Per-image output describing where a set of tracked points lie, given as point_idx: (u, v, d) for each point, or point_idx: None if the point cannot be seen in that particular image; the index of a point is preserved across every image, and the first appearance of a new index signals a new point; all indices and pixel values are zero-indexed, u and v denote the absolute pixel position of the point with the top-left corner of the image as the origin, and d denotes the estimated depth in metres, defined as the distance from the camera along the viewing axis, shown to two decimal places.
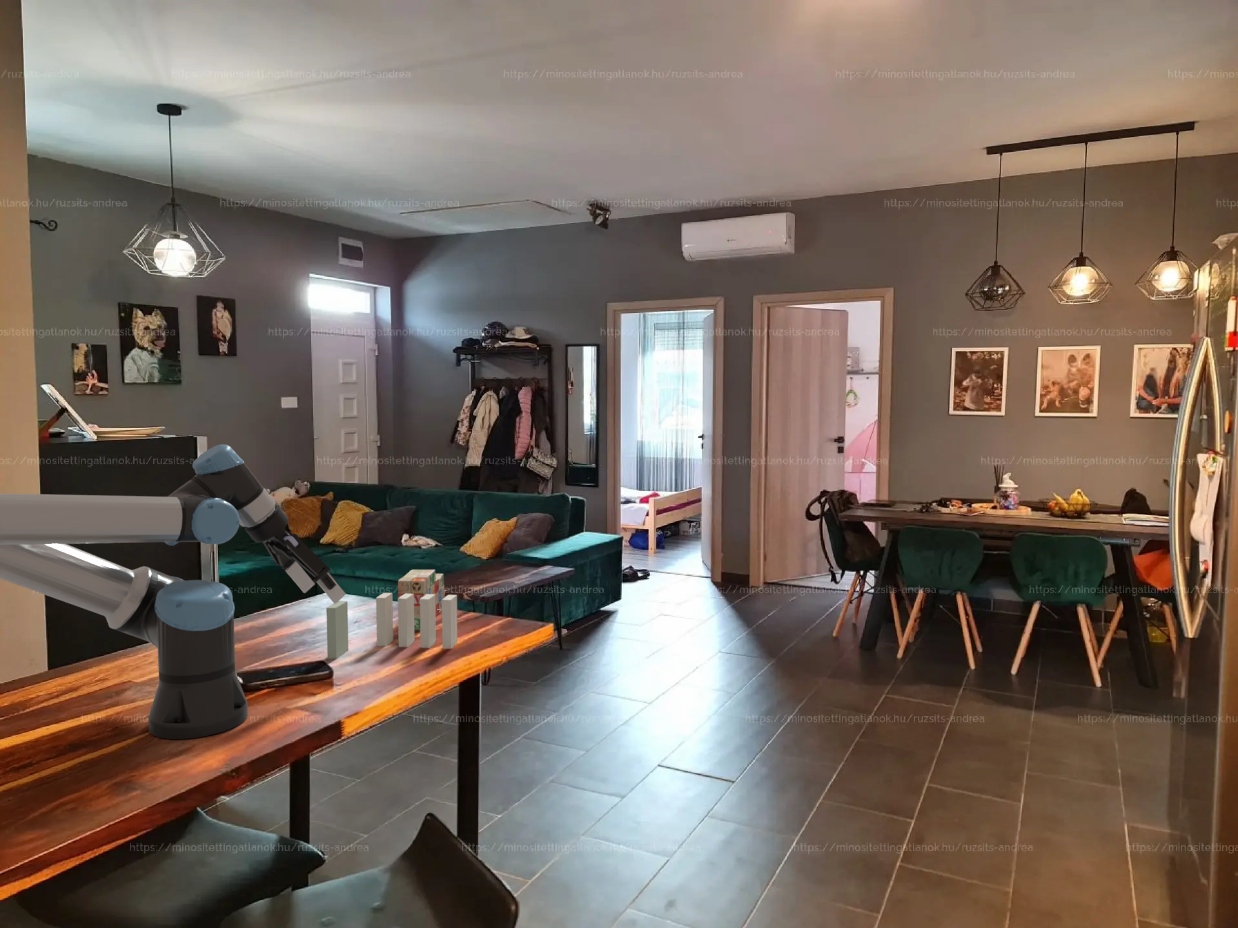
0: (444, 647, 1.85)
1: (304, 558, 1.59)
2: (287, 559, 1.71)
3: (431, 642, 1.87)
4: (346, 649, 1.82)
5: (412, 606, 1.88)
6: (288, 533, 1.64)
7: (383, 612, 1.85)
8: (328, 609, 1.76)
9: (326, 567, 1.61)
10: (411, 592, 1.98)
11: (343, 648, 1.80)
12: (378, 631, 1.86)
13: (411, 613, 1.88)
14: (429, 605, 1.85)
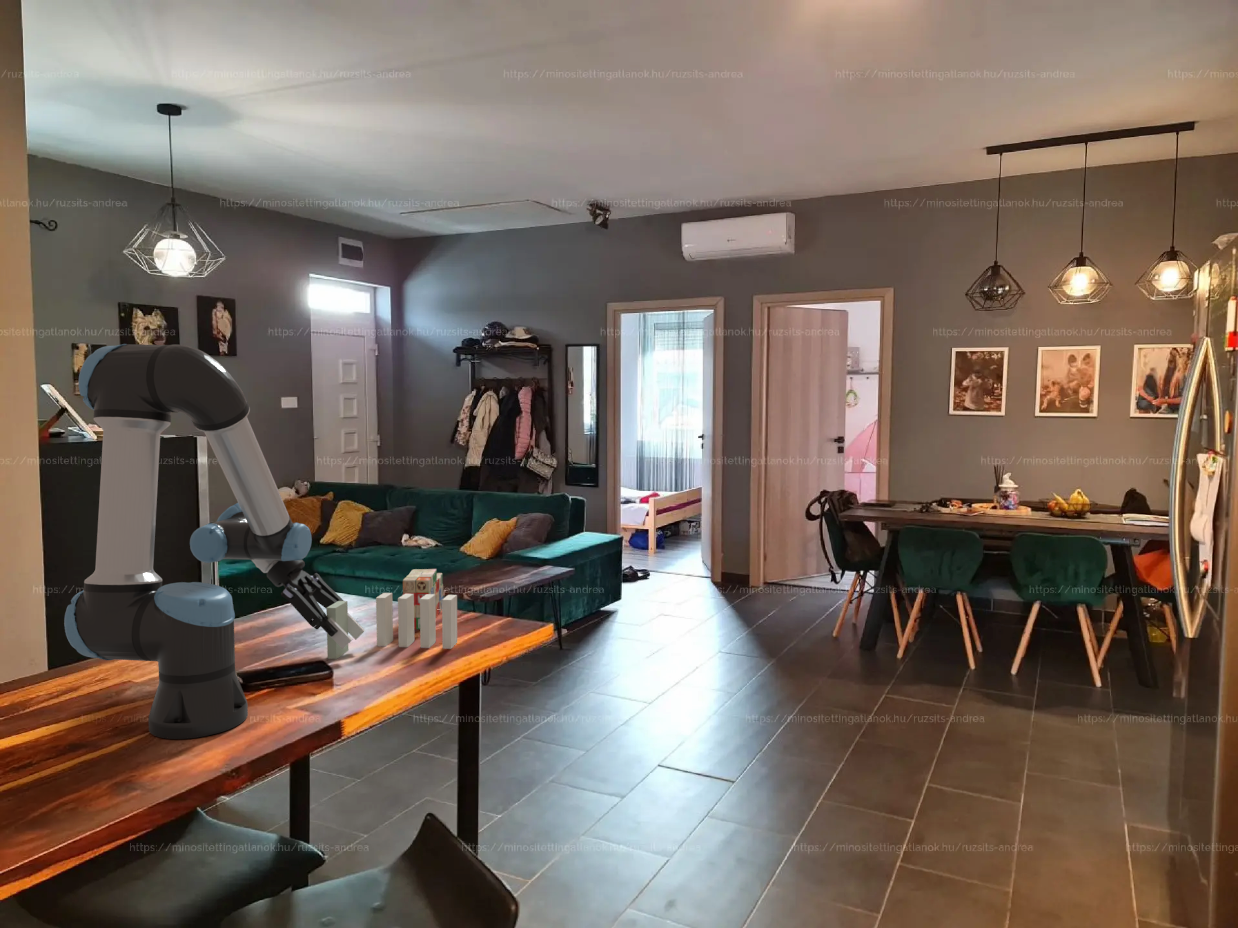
0: (444, 647, 1.85)
1: None
2: None
3: (431, 642, 1.87)
4: (346, 649, 1.82)
5: (412, 606, 1.88)
6: None
7: (383, 612, 1.85)
8: (328, 609, 1.76)
9: None
10: (416, 591, 1.99)
11: (343, 648, 1.80)
12: (378, 631, 1.86)
13: (411, 613, 1.88)
14: (429, 605, 1.85)
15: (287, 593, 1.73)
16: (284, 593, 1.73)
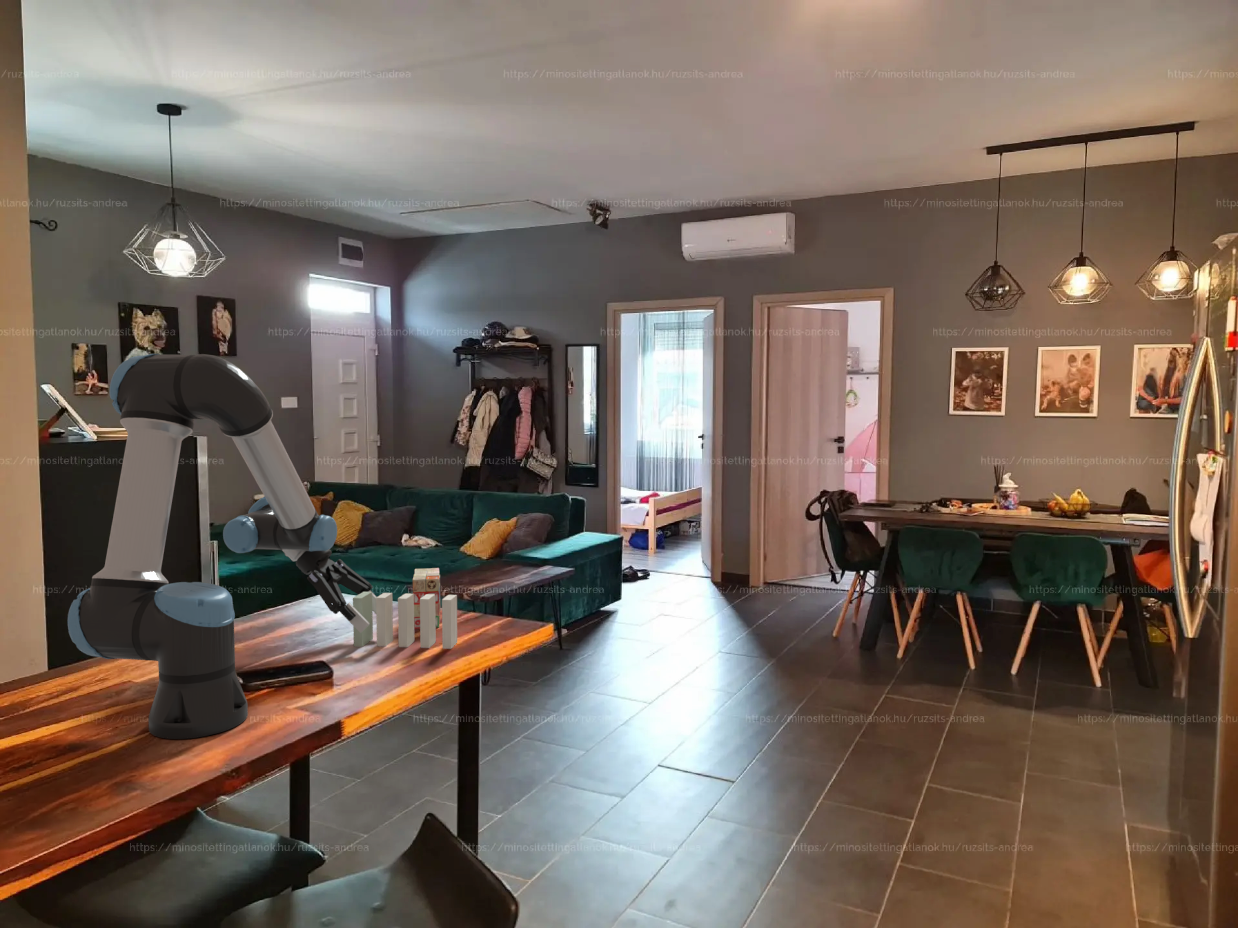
0: (444, 647, 1.85)
1: None
2: None
3: (431, 642, 1.87)
4: (371, 637, 1.91)
5: (412, 606, 1.88)
6: None
7: (383, 612, 1.85)
8: (354, 599, 1.85)
9: None
10: (426, 590, 2.00)
11: (368, 637, 1.89)
12: (378, 631, 1.86)
13: (411, 613, 1.88)
14: (429, 605, 1.85)
15: (312, 577, 1.82)
16: (310, 577, 1.82)
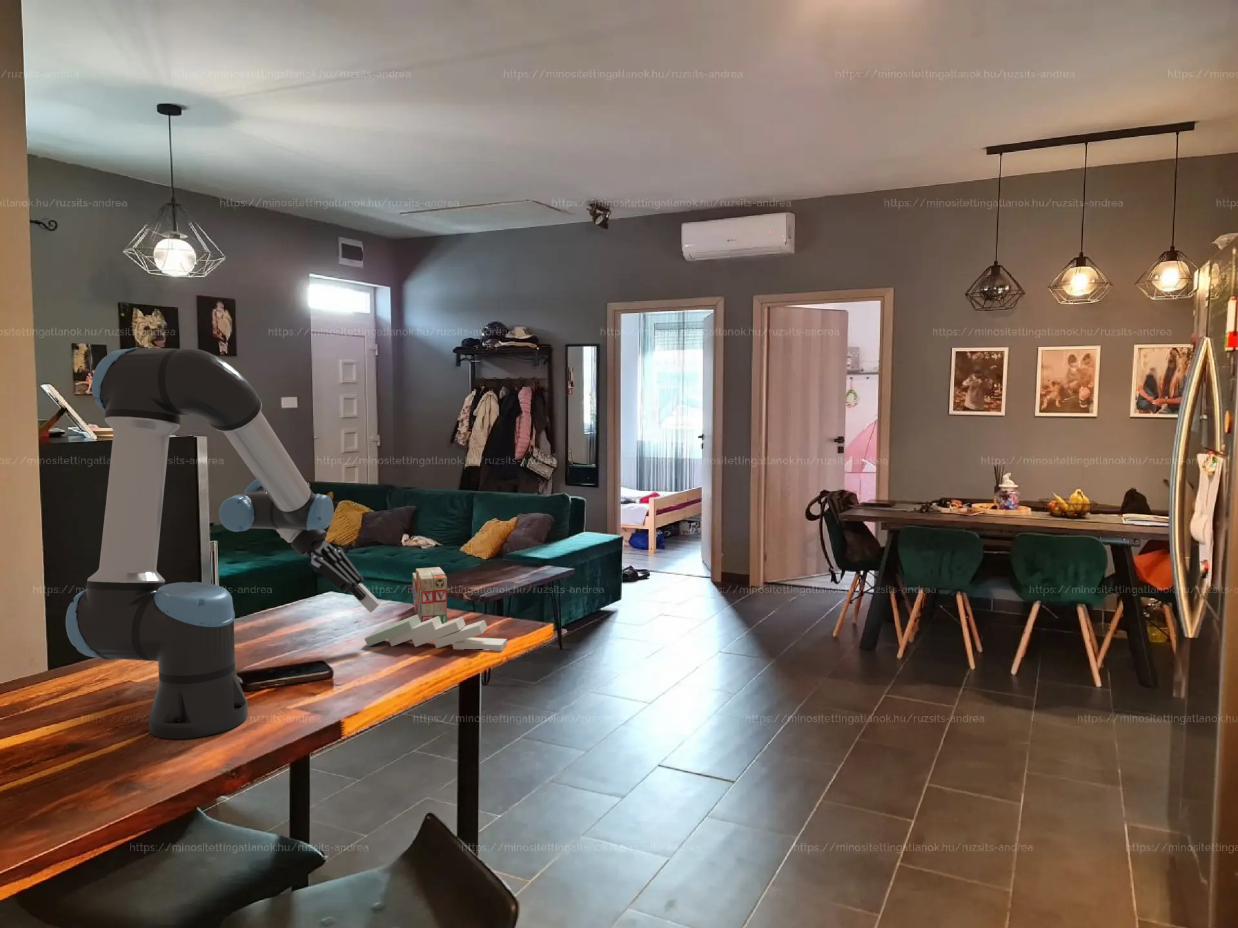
0: (453, 644, 1.85)
1: None
2: None
3: None
4: None
5: None
6: None
7: (421, 633, 1.85)
8: (407, 623, 1.84)
9: None
10: (434, 589, 2.01)
11: None
12: (401, 634, 1.86)
13: None
14: None
15: (315, 564, 1.82)
16: (312, 564, 1.82)
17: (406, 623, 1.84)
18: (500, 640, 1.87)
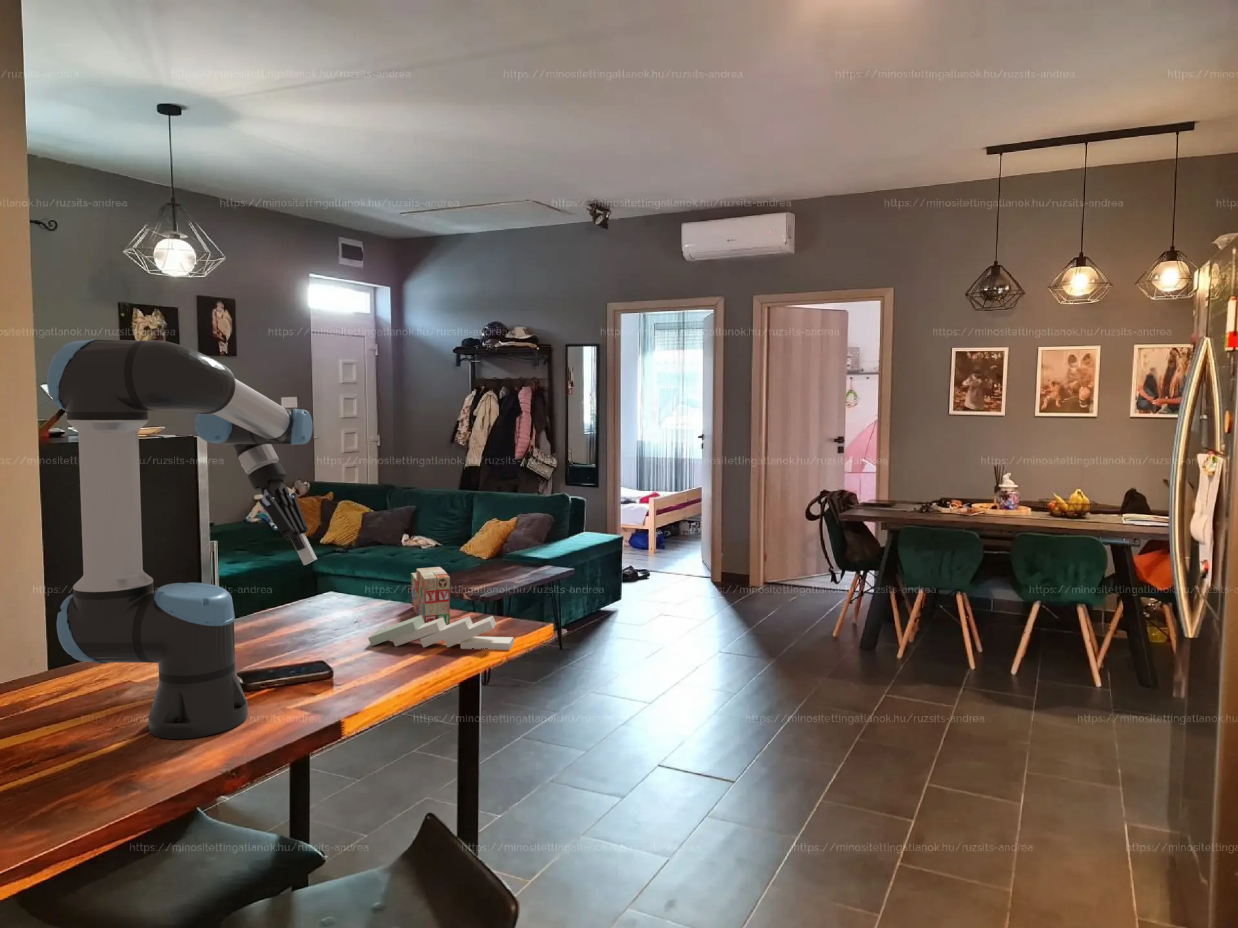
0: (461, 644, 1.85)
1: None
2: None
3: None
4: None
5: None
6: None
7: (425, 634, 1.85)
8: (411, 624, 1.85)
9: None
10: (437, 589, 2.02)
11: None
12: (405, 634, 1.86)
13: None
14: (486, 630, 1.85)
15: (265, 501, 1.81)
16: (262, 501, 1.80)
17: (410, 623, 1.85)
18: (507, 638, 1.87)
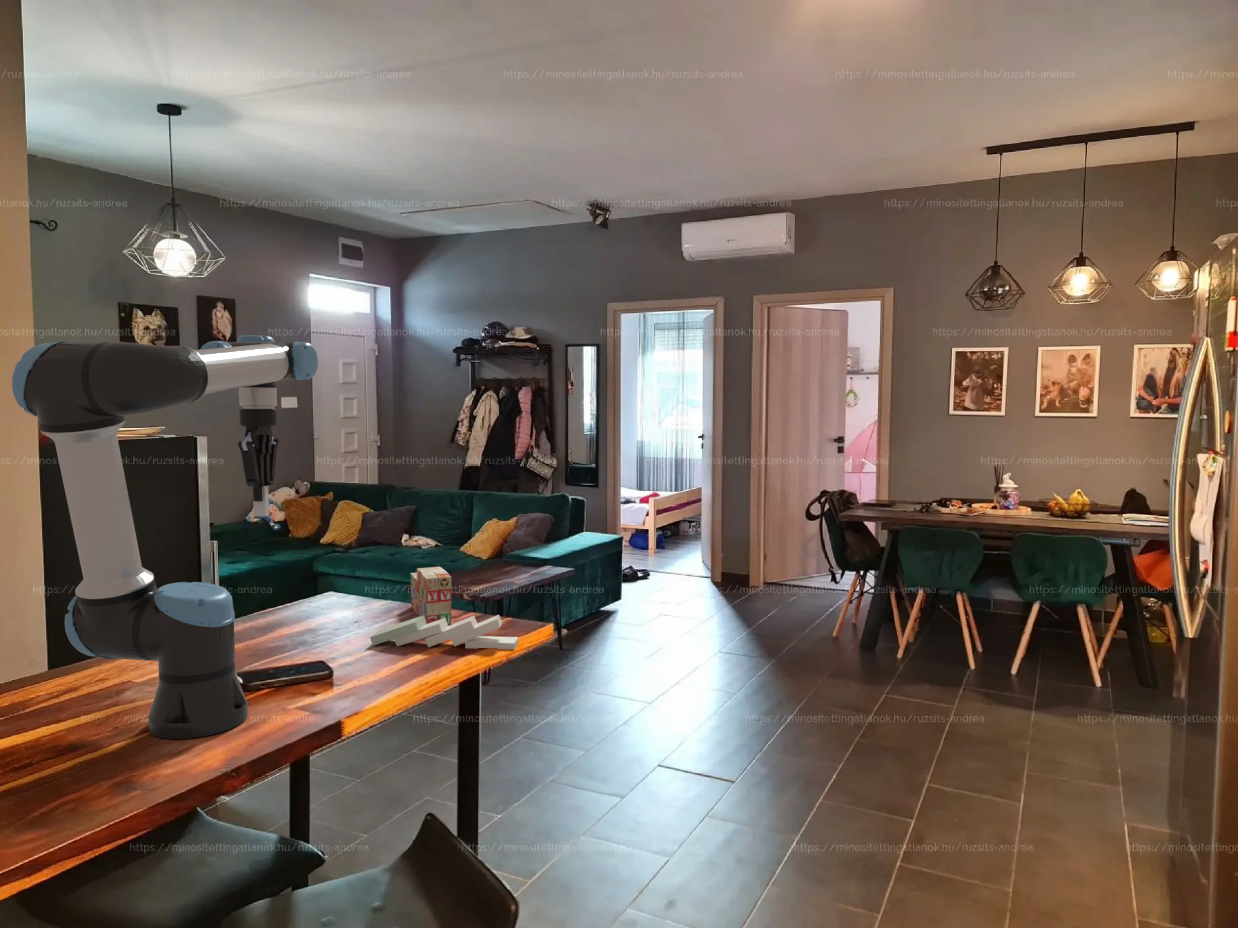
0: (466, 643, 1.85)
1: None
2: None
3: None
4: None
5: None
6: None
7: (427, 635, 1.85)
8: (414, 624, 1.85)
9: None
10: (439, 588, 2.02)
11: None
12: (407, 635, 1.86)
13: None
14: None
15: (244, 446, 1.75)
16: (241, 445, 1.75)
17: (412, 624, 1.85)
18: (512, 638, 1.88)
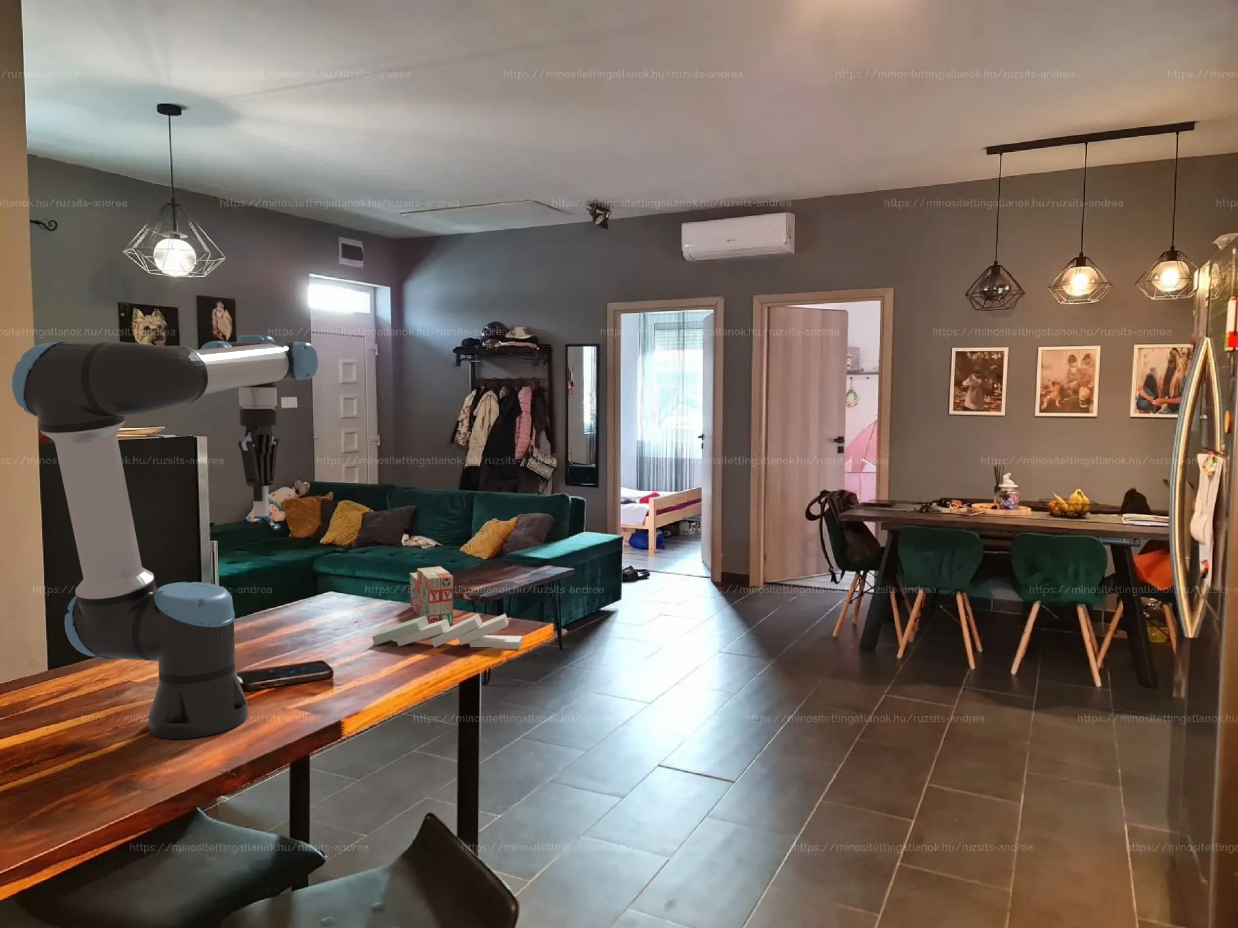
0: (470, 643, 1.85)
1: None
2: None
3: None
4: None
5: None
6: None
7: (429, 635, 1.85)
8: (415, 624, 1.85)
9: None
10: (441, 588, 2.02)
11: None
12: (409, 635, 1.86)
13: None
14: None
15: (244, 446, 1.75)
16: (242, 445, 1.75)
17: (414, 624, 1.85)
18: (516, 637, 1.88)
